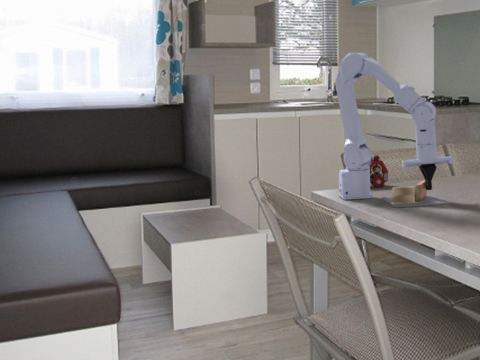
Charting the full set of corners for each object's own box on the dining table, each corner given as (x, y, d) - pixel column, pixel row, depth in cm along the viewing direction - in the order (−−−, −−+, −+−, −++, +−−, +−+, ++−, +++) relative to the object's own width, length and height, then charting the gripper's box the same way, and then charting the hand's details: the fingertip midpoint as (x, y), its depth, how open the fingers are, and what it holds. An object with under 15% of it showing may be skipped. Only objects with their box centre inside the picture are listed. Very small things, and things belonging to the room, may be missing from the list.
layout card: (394, 207, 201) (394, 205, 201) (381, 198, 215) (381, 196, 215) (449, 204, 202) (449, 202, 202) (433, 195, 216) (433, 194, 216)
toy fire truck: (390, 187, 235) (390, 156, 233) (353, 189, 234) (352, 157, 233) (385, 184, 241) (385, 153, 240) (349, 185, 241) (349, 155, 240)
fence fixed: (394, 203, 204) (393, 187, 203) (392, 202, 206) (391, 186, 205) (422, 202, 205) (422, 185, 204) (420, 200, 207) (420, 184, 206)
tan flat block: (420, 199, 206) (420, 184, 206) (416, 199, 207) (416, 184, 206) (426, 195, 213) (426, 180, 213) (422, 194, 214) (422, 180, 213)
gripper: (445, 140, 212) (447, 185, 214) (397, 145, 211) (400, 189, 213) (453, 142, 205) (456, 188, 207) (404, 147, 204) (406, 193, 206)
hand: (428, 189), depth 210 cm, fingers closed, pressing on tan flat block
